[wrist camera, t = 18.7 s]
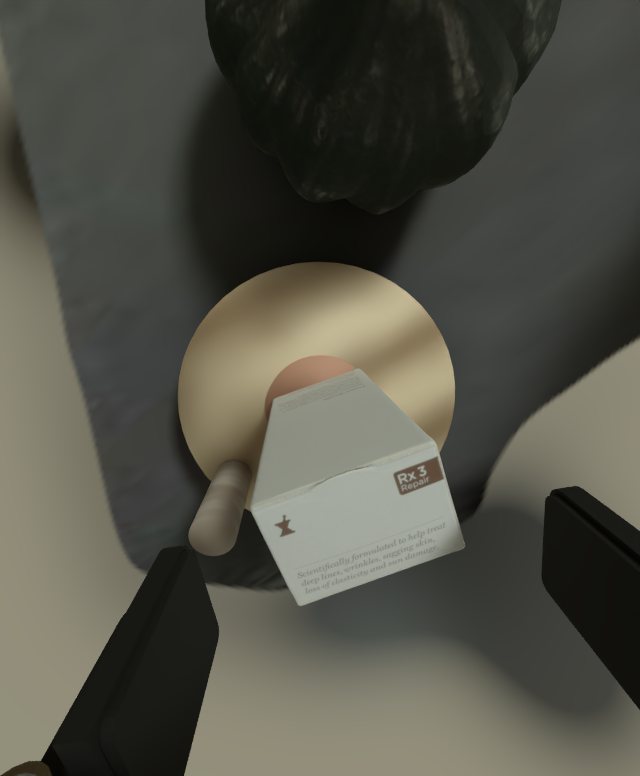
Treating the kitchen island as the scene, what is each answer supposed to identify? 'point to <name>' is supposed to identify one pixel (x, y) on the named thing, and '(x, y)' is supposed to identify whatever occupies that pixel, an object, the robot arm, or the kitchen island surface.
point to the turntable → (298, 371)
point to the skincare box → (349, 489)
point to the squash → (376, 86)
